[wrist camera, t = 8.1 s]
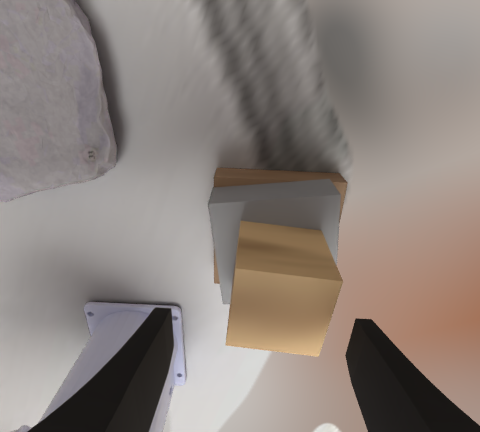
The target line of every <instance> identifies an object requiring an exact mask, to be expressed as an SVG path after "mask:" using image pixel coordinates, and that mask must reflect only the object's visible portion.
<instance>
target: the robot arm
mask: <svg viewBox="0 0 480 432" xmlns="http://www.w3.org/2000/svg"><path fill="white" fill-rule="evenodd" d="M84 312H85V315H86V319H87V323H88V327H89V331H90V335H91V337H90V339H89V340H88V342H87V344H86V345H85V347H84V349H83V350H82V352H81V354H80V355H79V357H78V358H77V360H76V362H75V363H74V365H73V367H72V368H71V370H70V372H69V373H68V375H67V377H66V378H65V380H64V382H63V383H62V385H61V386H60V388H59V390H58V391H57V393H56V395H55V396H54V398H53V400H52V401H51V403H50V405H49V406H48V408H47V409H46V411H45V413H44V414H43V416H42V418H41V419H40V421H39V423H38V424H37V425H35V426H34V427H33V428H31V427H29V426H27V425H23V426H21V427H20V428H19V429H18V430H14V431H12V432H163V429H164V425H165V421H166V417H167V413H168V409H169V405H170V401H171V397H172V393H173V389H174V385H184V384H185V382H186V370H185V356H184V343H183V329H182V316H181V309H180V308H179V307H177V306H165V305H145V304H124V303H103V302H88V303H86V304H85V306H84ZM174 316H176V317H174ZM346 360H347V365H348V370H349V374H350V378H351V383H352V386H353V389H354V392H355V394H356V398H357V400H358V404H359V406H360V409H361V412H362V415H363V418H364V421H365V424H366V427H367V430H368V432H480V426H479V425H478V424H477V423H476V422H475V421H473V420H472V419H471V418H470V417H469V416H468V415H466V414H465V413H464V412H463V411H462V410H461V409H459V408H458V407H457V406H456V405H455V404H454V403H452V402H451V401H450V400H449V399H448V398H447V397H446V396H445V395H444V394H443V393H441V391H440V390H439V389H437V388H436V387H435V386H434V385H433V384H432V383H431V382H430V381H429V380H428V379H427V378H426V377H425V376H424V375H423V374H422V373H421V372H420V371H419V370H418V369H417V368H416V367H415V366H414V365H413V364H412V363H411V362H410V361H409V360H408V359H407V358H406V357H405V355H403V353H402V352H401V351H400V350H399V349H398V348H397V347H396V346H395V345H394V344H393V342H392V341H391V340H390V339H389V338H388V337H387V336H386V335H385V334H384V333H383V331H382V330H381V329H380V328H379V327H378V326H377V325H376V324H375V323H374V322H373V320H371V319H356V320H355V323H354V327H353V330H352V334H351V338H350V341H349V345H348V349H347V352H346Z"/></svg>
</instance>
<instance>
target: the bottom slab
mask: <svg viewBox="0 0 480 432" xmlns="http://www.w3.org/2000/svg"><path fill="white" fill-rule="evenodd" d="M321 179H330V180H331V182H332V183H333V184H334V186H335V187H336V188H337V190H338V191H339V193H340V194H341V200H340V217H339V223H340V218H341V213H342V208H343V203H344V198H345V193H346V188H347V182H346V180H345V179H344V178H343V177H342V176H341V174H340V173H325V172H302V171H280V170H258V169H236V168H217V169H216V172H215V175H214V187H227V186H240V185H253V184H267V183H280V182H294V181H307V180H321ZM214 283H218V284H220V281H219V274H218V268H217V261H216V254H215V248H214Z"/></svg>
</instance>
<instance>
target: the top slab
mask: <svg viewBox="0 0 480 432" xmlns="http://www.w3.org/2000/svg"><path fill="white" fill-rule="evenodd" d="M340 200H341V194H340V193H339V191H338V190H337V188H336V187H335V186H334V184H333V183H332V182H331V180H330V179H321V180H307V181H294V182H280V183H267V184H253V185H240V186H227V187H213V190H212V193H211V196H210V199H209V202H208V207H209V214H210V221H211V228H212V234H213V241H214V248H215V254H216V261H217V268H218V274H219V281H220V288H221V295H222V301H223V304H230V301H231V292H232V283H233V275H234V268H235V260H236V252H237V244H238V237H239V229H240V221H248V222H256V223H265V224H273V225H281V226H289V227H297V228H305V229H313V230H321V231H322V233H323V235H324V237H325V240H326V242H327V244H328V247H329V249H330V252H331V254H332V256H333V259H334V261H335V264H336V266H337V250H338V234H339V217H340Z"/></svg>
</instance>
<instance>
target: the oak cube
mask: <svg viewBox="0 0 480 432" xmlns="http://www.w3.org/2000/svg"><path fill="white" fill-rule="evenodd" d="M342 283H343V280H342V278H341V275H340V273H339V271H338V268H337V266H336V264H335V261H334V259H333V256H332V254H331V252H330V249H329V247H328V244H327V242H326V240H325V237H324V235H323V233H322V231H321V230H313V229H305V228H297V227H289V226H281V225H273V224H265V223H256V222H248V221H240V229H239V237H238V244H237V252H236V260H235V268H234V275H233V283H232V292H231V301H230V310H229V319H228V328H227V337H226V345H227V346H235V347H243V348H252V349H260V350H268V351H277V352H285V353H293V354H301V355H310V356H319V353H320V351H321V348H322V344H323V341H324V338H325V335H326V332H327V329H328V326H329V323H330V320H331V317H332V314H333V311H334V308H335V304H336V302H337V298H338V295H339V292H340V289H341V286H342Z"/></svg>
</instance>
